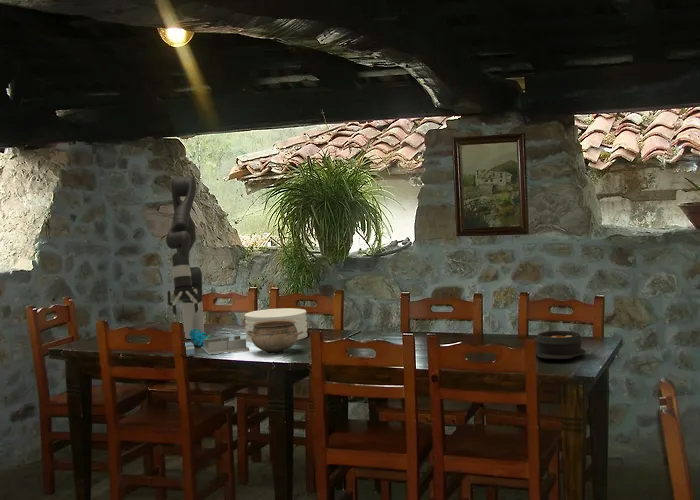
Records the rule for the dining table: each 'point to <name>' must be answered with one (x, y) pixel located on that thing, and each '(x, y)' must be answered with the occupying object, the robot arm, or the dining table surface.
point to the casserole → (559, 345)
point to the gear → (198, 336)
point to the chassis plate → (224, 345)
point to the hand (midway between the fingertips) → (185, 313)
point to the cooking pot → (274, 335)
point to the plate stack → (277, 314)
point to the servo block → (189, 348)
